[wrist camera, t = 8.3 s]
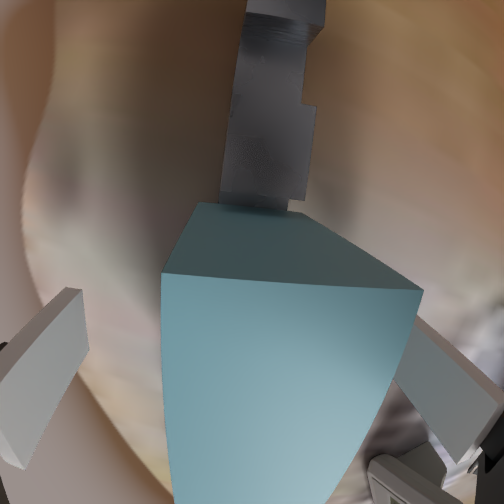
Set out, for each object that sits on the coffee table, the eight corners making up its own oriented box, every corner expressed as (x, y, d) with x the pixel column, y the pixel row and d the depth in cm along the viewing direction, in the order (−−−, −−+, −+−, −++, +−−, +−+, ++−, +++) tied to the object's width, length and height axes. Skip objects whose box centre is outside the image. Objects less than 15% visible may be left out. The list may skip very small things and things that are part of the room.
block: (198, 201, 13) (161, 272, 4) (301, 212, 14) (423, 290, 5) (188, 374, 15) (178, 526, 7) (272, 378, 16) (311, 522, 7)
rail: (244, 15, 12) (251, -21, 8) (304, 26, 12) (326, -6, 9) (200, 460, 19) (200, 496, 15) (240, 461, 19) (244, 497, 16)
